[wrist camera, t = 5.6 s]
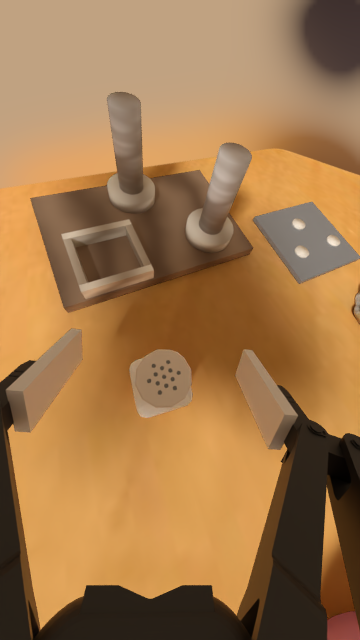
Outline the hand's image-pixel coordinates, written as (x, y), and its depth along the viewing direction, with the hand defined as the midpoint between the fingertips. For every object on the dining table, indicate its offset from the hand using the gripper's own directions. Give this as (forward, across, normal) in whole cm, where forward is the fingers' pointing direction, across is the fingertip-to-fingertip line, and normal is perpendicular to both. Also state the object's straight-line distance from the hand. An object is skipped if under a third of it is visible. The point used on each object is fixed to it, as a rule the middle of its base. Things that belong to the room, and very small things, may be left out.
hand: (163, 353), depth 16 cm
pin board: (+16, -4, +9) cm, 18 cm away
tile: (+18, +20, +11) cm, 29 cm away
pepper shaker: (+2, 0, -5) cm, 5 cm away
